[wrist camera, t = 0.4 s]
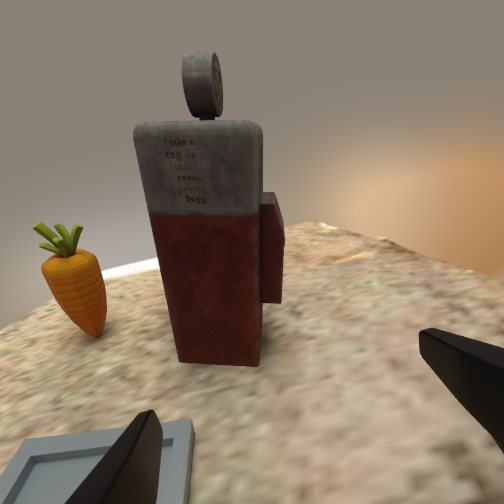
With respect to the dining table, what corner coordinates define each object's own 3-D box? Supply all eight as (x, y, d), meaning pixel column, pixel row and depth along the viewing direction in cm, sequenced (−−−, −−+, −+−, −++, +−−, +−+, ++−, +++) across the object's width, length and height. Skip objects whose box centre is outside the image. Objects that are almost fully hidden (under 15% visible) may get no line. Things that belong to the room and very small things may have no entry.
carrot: (128, 324, 32) (94, 215, 26) (100, 354, 28) (51, 231, 22) (96, 319, 33) (56, 212, 27) (63, 347, 29) (6, 228, 23)
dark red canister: (280, 368, 26) (297, 24, 14) (177, 362, 27) (109, 34, 15) (279, 312, 34) (289, 64, 22) (199, 309, 35) (167, 69, 23)
